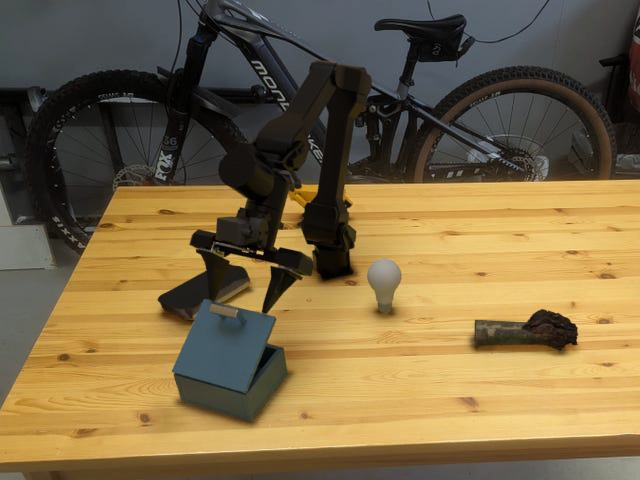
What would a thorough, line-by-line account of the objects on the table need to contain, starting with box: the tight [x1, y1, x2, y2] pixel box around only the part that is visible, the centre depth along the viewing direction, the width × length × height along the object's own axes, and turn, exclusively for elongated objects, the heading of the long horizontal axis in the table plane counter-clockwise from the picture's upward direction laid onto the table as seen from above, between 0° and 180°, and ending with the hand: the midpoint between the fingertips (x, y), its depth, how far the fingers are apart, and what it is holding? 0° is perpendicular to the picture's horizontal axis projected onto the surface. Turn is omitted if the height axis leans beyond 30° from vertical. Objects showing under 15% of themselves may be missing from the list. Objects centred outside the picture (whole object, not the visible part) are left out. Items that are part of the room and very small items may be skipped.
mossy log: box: [473, 308, 579, 352], centre depth 115 cm, size 18×7×6 cm, turn 87°
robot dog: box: [274, 168, 354, 227], centre depth 143 cm, size 6×18×13 cm, turn 84°
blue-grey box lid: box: [171, 299, 278, 393], centre depth 99 cm, size 12×13×5 cm
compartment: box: [173, 342, 289, 423], centre depth 105 cm, size 12×13×6 cm
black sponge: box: [157, 263, 251, 321], centre depth 124 cm, size 16×8×4 cm, turn 143°
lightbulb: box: [366, 258, 402, 314], centre depth 119 cm, size 6×6×11 cm
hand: (237, 306), depth 101 cm, fingers open, 9 cm apart
